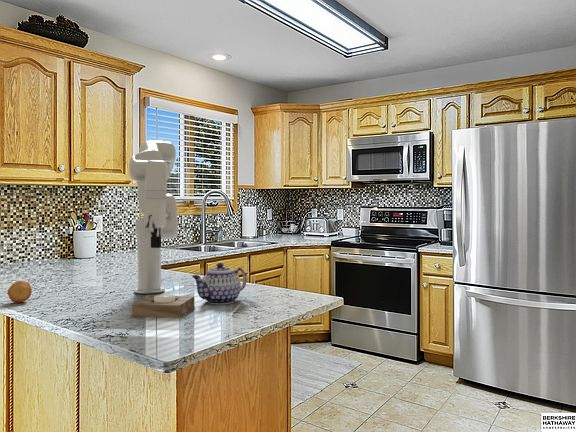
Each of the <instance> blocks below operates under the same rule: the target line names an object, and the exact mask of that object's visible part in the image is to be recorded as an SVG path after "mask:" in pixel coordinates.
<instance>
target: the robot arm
mask: <svg viewBox="0 0 576 432" xmlns="http://www.w3.org/2000/svg"><path fill="white" fill-rule="evenodd" d="M138 151H139V152H138V153H135V154H133V155H132V156H131V158H130V160H129V163H128V167H129V168H128V169H129V170H128V172H129V176H130V179H132V180H133V181H134V182H136V183H137V197H138V198H137V200H138V203H137V204H138V211H139V213H140V214H141V215H143V217H140V218H138V219H137V220H136V222H135V224H134V225H135V235H136V244H137V287H136V288H134V289H133V292H134V293H135V294H158V293H162V292H165V291H166V289H165V287H164V286H162V283H163V279H162V250H161V247H162V240H172V239H175V238H177V236H178V233H179V222H178V207H177V206H178V205H177V199H176V197H175V196H174V195H173V194H171V193H168V180H169V178H170V177H171V172H172V171H173V168H174V165H175V161H176V157H177V156H176V155H177V153H176V152H177V151H176V148H175V145H174V144H173V143H172V142H170V141H163V140H147V141H143V142H142V143H141V144H140V146H139V149H138Z"/></svg>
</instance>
